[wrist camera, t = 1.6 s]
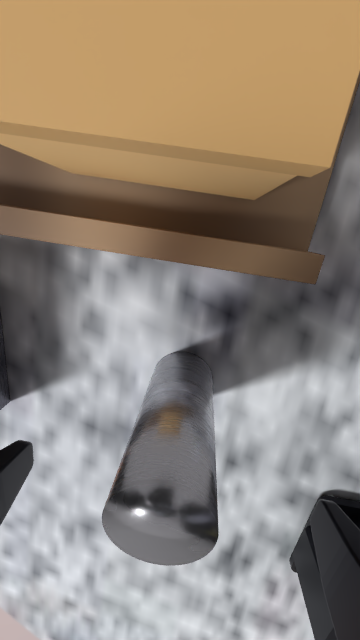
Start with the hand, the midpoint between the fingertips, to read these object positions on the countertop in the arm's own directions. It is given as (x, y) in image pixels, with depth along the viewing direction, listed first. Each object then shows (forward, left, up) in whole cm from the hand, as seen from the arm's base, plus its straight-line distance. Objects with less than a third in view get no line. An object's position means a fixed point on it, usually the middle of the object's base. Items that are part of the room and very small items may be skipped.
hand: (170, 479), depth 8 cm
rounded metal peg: (0, 0, -6) cm, 6 cm away
